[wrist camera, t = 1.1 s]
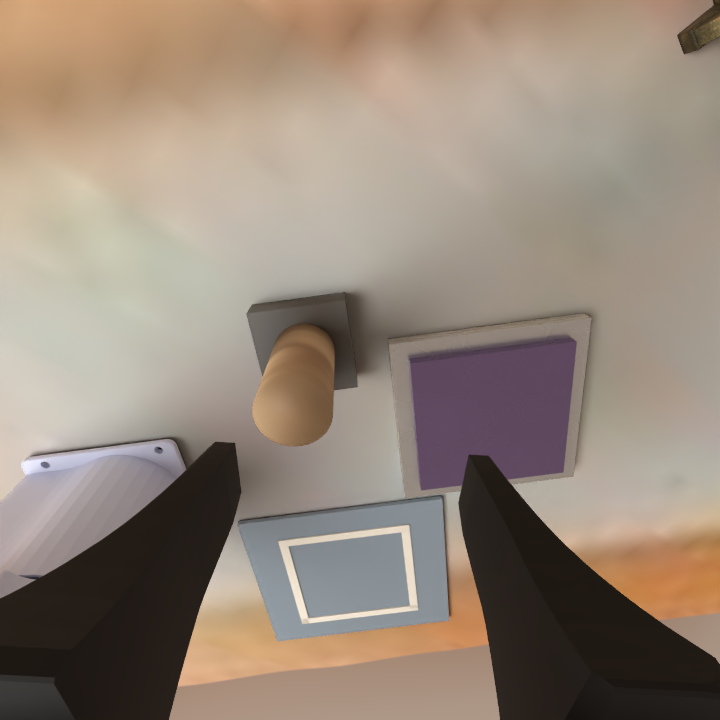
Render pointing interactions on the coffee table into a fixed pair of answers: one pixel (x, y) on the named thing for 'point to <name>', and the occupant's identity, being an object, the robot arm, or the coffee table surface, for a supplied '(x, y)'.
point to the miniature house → (701, 30)
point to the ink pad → (489, 401)
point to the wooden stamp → (301, 365)
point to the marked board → (351, 567)
